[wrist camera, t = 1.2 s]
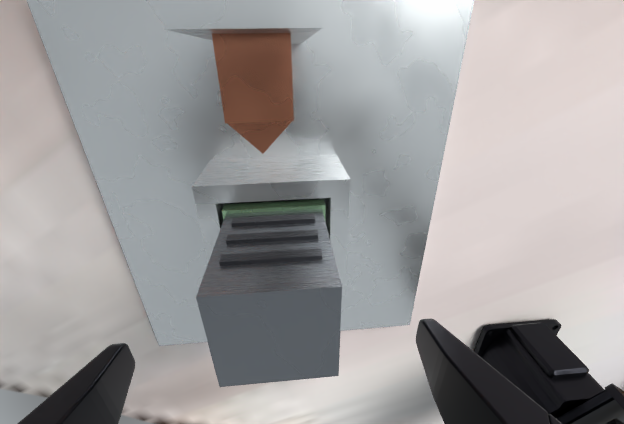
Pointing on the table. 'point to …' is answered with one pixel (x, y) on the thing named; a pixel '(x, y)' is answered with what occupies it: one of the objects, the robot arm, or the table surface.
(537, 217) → the table surface
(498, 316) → the table surface
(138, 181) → the base
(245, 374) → the block
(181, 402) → the table surface
